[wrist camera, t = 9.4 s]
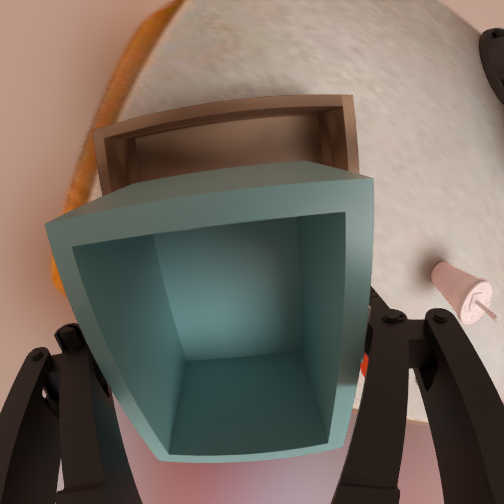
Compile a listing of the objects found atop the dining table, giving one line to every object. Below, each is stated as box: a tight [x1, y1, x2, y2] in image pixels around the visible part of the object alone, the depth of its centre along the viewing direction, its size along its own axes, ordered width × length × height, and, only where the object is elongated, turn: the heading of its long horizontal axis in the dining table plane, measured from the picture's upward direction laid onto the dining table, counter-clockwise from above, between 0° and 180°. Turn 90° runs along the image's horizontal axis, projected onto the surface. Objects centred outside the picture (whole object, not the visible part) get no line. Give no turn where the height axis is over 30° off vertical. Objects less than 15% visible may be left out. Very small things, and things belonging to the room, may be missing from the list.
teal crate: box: [45, 161, 374, 463], centre depth 12 cm, size 12×9×8 cm
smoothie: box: [431, 262, 498, 324], centre depth 30 cm, size 6×6×14 cm
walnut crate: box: [93, 95, 359, 196], centre depth 28 cm, size 22×22×9 cm
